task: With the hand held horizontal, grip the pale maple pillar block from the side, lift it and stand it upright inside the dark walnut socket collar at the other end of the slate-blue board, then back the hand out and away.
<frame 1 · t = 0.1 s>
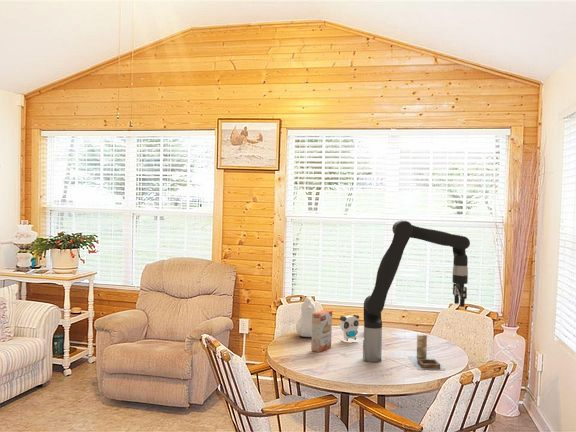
hand: (459, 305, 280), 29 cm above the table, tool pointing down, fingers open, 8 cm apart
maple pillar: (421, 358, 281), point 1 cm above the table, touching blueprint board
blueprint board: (425, 363, 273), on the table
socket collar: (428, 367, 267), resting on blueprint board
cracker box: (321, 349, 299), on the table
milk carton: (371, 333, 341), on the table
panda figurine: (349, 341, 319), on the table
decorative rooster: (309, 335, 332), on the table
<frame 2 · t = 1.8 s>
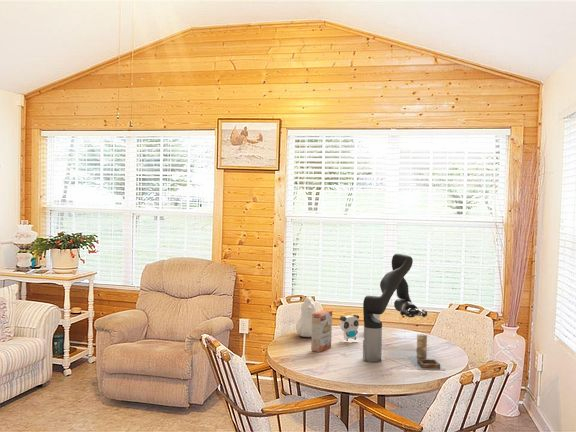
hand: (416, 315, 293), 21 cm above the table, tool horizontal, fingers open, 8 cm apart
nothing on the table moved.
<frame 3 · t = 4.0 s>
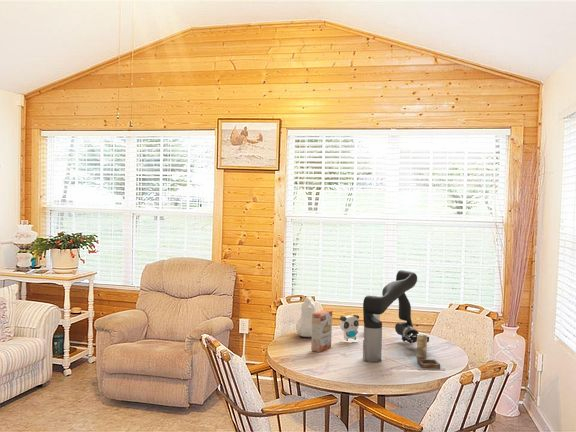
hand: (418, 341, 287), 8 cm above the table, tool horizontal, fingers open, 8 cm apart
nothing on the table moved.
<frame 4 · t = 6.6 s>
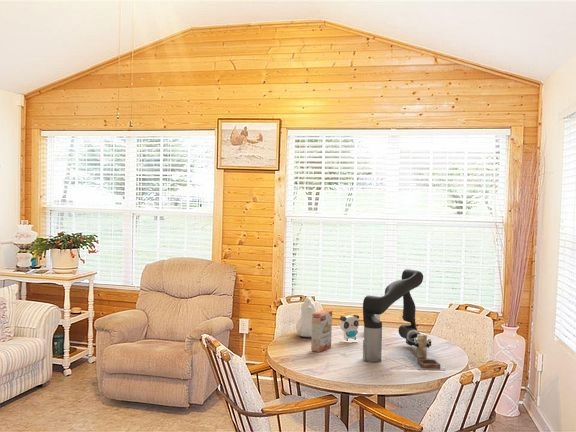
hand: (423, 345, 278), 8 cm above the table, tool horizontal, fingers closed on maple pillar, 5 cm apart
maple pillar: (421, 358, 281), point 1 cm above the table, touching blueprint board, gripper
everything else where it was.
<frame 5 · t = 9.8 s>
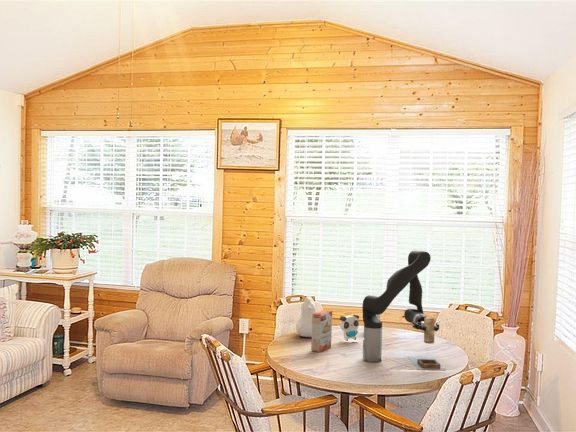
hand: (430, 329, 265), 20 cm above the table, tool horizontal, fingers closed on maple pillar, 5 cm apart
maple pillar: (429, 342, 267), point 12 cm above the table, touching gripper
everything else where it was.
when the fingers open (9 cm above the table, at t = 13.0 s): maple pillar drops 1 cm, resting on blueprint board.
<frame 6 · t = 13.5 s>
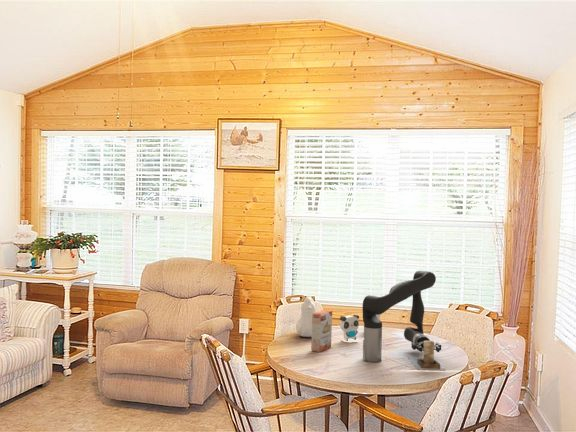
hand: (430, 349, 265), 9 cm above the table, tool horizontal, fingers open, 8 cm apart
maple pillar: (428, 365, 268), point 1 cm above the table, touching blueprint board
everything else where it was.
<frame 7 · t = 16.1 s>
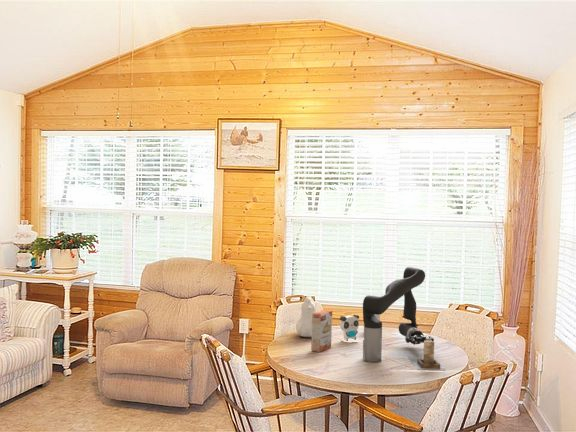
hand: (422, 342, 279), 9 cm above the table, tool horizontal, fingers open, 8 cm apart
nothing on the table moved.
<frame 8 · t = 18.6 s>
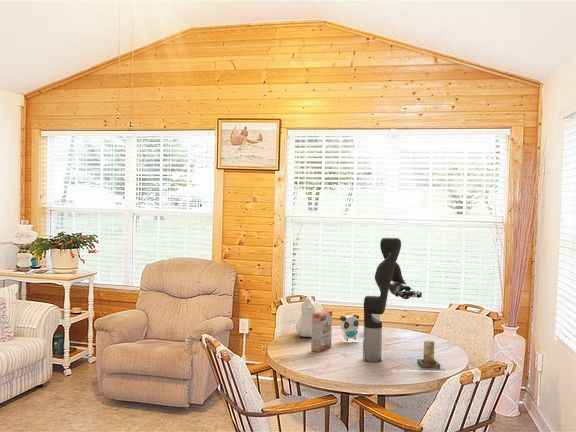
hand: (411, 296, 289), 32 cm above the table, tool horizontal, fingers open, 8 cm apart
nothing on the table moved.
at the end: maple pillar 0.1 cm off-centre on the socket collar, point 0.8 cm above the socket collar's base; maple pillar tilted 1°; the gripper is holding nothing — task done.
